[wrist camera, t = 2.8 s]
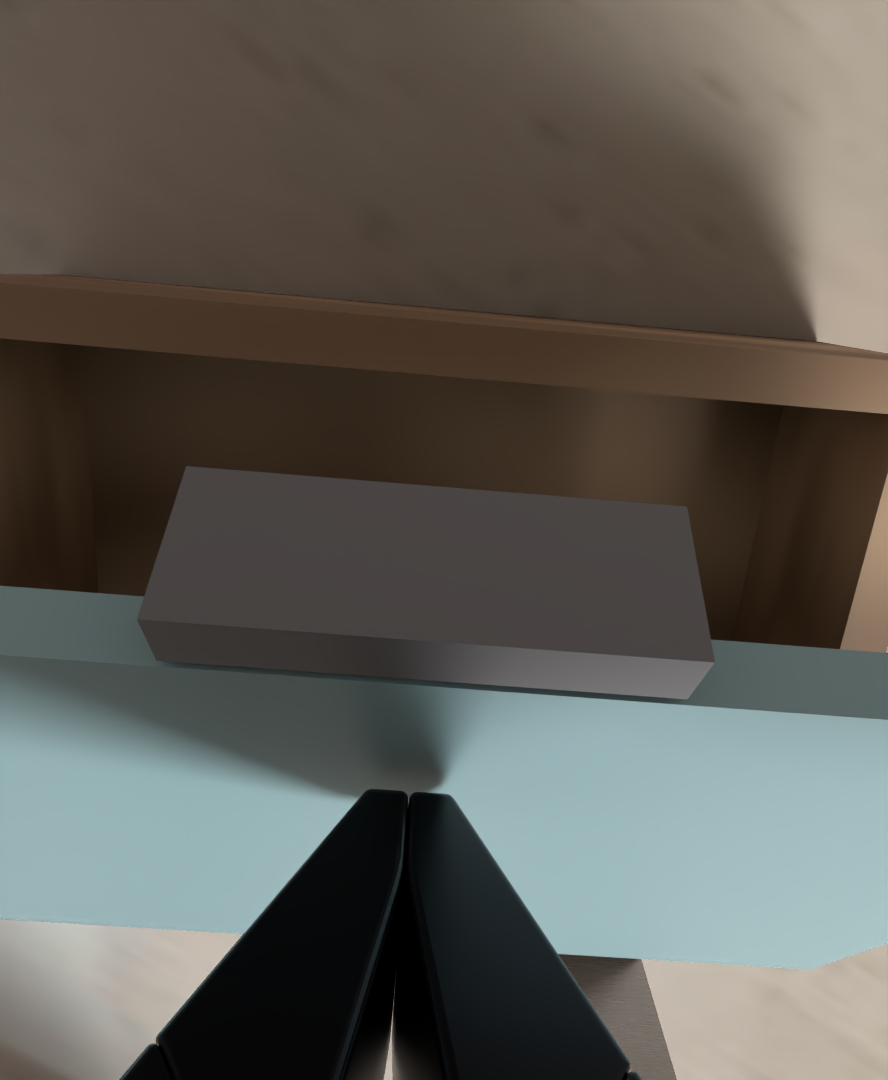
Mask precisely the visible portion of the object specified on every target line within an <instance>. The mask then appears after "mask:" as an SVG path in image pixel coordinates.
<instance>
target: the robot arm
mask: <svg viewBox="0 0 888 1080" xmlns="http://www.w3.org/2000/svg"><path fill="white" fill-rule="evenodd" d="M394 989H395V991H394ZM393 1001H394V1006H393ZM392 1012H393V1026H392V1072H393V1080H642V1078H641V1077H640V1075H639V1074H638V1073H637V1072H635V1071H632V1072H631V1067H632V1066H631V1063H630V1061H629V1059H628V1058H627V1056H626V1055H625V1053H624V1052H623V1050H622V1049H621V1047H620V1046H619V1044H618V1043H617V1041H616V1040H615V1039H614V1037H613V1036H612V1034H611V1033H610V1031H609V1030H608V1028H607V1027H606V1025H605V1024H604V1022H603V1021H602V1019H601V1018H600V1016H599V1015H598V1013H597V1012H596V1010H595V1009H594V1007H593V1006H592V1004H591V1003H590V1001H589V1000H588V998H587V997H586V995H585V994H584V992H583V991H582V989H581V988H580V986H579V985H578V983H577V982H576V980H575V979H574V977H573V976H572V974H571V973H570V971H569V970H568V968H567V967H566V965H565V964H564V962H563V961H562V959H561V958H560V956H559V955H558V953H557V952H556V950H555V949H554V947H553V946H552V944H551V943H550V941H549V940H548V938H547V937H546V935H545V934H544V932H543V931H542V929H541V928H540V926H539V925H538V923H537V922H536V920H535V919H534V917H533V916H532V914H531V913H530V911H529V910H528V908H527V907H526V906H525V904H524V903H523V901H522V900H521V898H520V897H519V895H518V894H517V892H516V891H515V889H514V888H513V886H512V885H511V883H510V882H509V880H508V879H507V877H506V876H505V874H504V873H503V871H502V870H501V868H500V867H499V865H498V864H497V862H496V861H495V859H494V858H493V856H492V855H491V853H490V852H489V850H488V849H487V847H486V846H485V844H484V843H483V841H482V840H481V838H480V837H479V835H478V834H477V832H476V831H475V829H474V828H473V826H472V825H471V823H470V822H469V820H468V819H467V817H466V816H465V814H464V813H463V811H462V810H461V808H460V807H459V805H458V804H457V802H456V801H455V799H454V798H453V797H452V796H450V795H449V794H443V793H428V792H414V793H412V794H411V795H410V797H409V803H408V795H407V793H405V792H404V791H399V790H385V789H368V790H366V791H365V792H364V793H363V794H362V795H361V797H360V798H359V799H358V800H357V801H356V802H355V804H354V805H353V806H352V807H351V808H350V809H349V811H348V812H347V813H346V814H345V815H344V817H343V818H342V819H341V820H340V821H339V822H338V824H337V825H336V826H335V827H334V828H333V829H332V831H331V832H330V833H329V834H328V835H327V837H326V838H325V839H324V840H323V841H322V842H321V844H320V845H319V846H318V847H317V848H316V849H315V851H314V852H313V853H312V854H311V855H310V857H309V858H308V859H307V860H306V861H305V862H304V864H303V865H302V866H301V867H300V868H299V869H298V871H297V872H296V873H295V874H294V875H293V877H292V878H291V879H290V880H289V881H288V882H287V884H286V885H285V886H284V887H283V888H282V889H281V891H280V892H279V893H278V894H277V895H276V897H275V898H274V899H273V900H272V901H271V902H270V904H269V905H268V906H267V907H266V908H265V909H264V911H263V912H262V913H261V914H260V915H259V916H258V918H257V919H256V920H255V921H254V922H253V924H252V925H251V926H250V927H249V928H248V929H247V931H246V932H245V933H244V934H243V935H242V936H241V938H240V939H239V940H238V941H237V942H236V944H235V945H234V946H233V947H232V948H231V949H230V951H229V952H228V953H227V954H226V955H225V956H224V958H223V959H222V960H221V961H220V962H219V964H218V965H217V966H216V967H215V968H214V969H213V971H212V972H211V973H210V974H209V975H208V976H207V978H206V979H205V980H204V981H203V982H202V984H201V985H200V986H199V987H198V988H197V989H196V991H195V992H194V993H193V994H192V995H191V996H190V998H189V999H188V1000H187V1001H186V1002H185V1004H184V1005H183V1006H182V1007H181V1008H180V1009H179V1011H178V1012H177V1013H176V1014H175V1015H174V1016H173V1018H172V1019H171V1020H170V1021H169V1022H168V1023H167V1025H166V1026H165V1027H164V1028H163V1029H162V1031H161V1032H160V1033H159V1034H158V1035H157V1037H156V1044H150V1045H148V1046H147V1047H146V1049H145V1050H144V1051H143V1052H142V1053H141V1054H140V1056H139V1057H138V1058H137V1059H136V1060H135V1062H134V1063H133V1064H132V1065H131V1066H130V1068H129V1069H128V1070H127V1071H126V1072H125V1073H124V1075H123V1076H122V1077H121V1078H120V1079H119V1080H383V1079H384V1074H385V1068H386V1061H387V1055H388V1049H389V1042H390V1033H391V1023H392Z"/></svg>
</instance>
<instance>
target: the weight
mask: <svg viewBox="0 0 888 1080" xmlns="http://www.w3.org/2000/svg"><path fill="white" fill-rule="evenodd" d="M558 955H559V956H560V958H561V959H562V961H563V962H564V964H565V965H566V967H567V968H568V970H569V971H570V973H571V974H572V976H573V977H574V979H575V980H576V982H577V983H578V985H579V986H580V988H581V989H582V991H583V992H584V994H585V995H586V997H587V998H588V1000H589V1001H590V1003H591V1004H592V1006H593V1007H594V1009H595V1010H596V1012H597V1013H598V1015H599V1016H600V1018H601V1019H602V1021H603V1022H604V1024H605V1025H606V1027H607V1028H608V1030H609V1031H610V1033H611V1034H612V1036H613V1037H614V1039H615V1040H616V1041H617V1043H618V1044H619V1046H620V1047H621V1049H622V1050H623V1052H624V1053H625V1055H626V1056H627V1058H628V1059H629V1061H630V1063H631V1066H632V1067H631V1072H632V1071H635V1072H637V1073H638V1074H639V1075H640V1077H641V1078H642V1080H677V1079H676V1076H675V1072H674V1069H673V1066H672V1062H671V1059H670V1056H669V1052H668V1049H667V1045H666V1042H665V1039H664V1035H663V1032H662V1028H661V1025H660V1022H659V1018H658V1015H657V1011H656V1008H655V1005H654V1001H653V998H652V995H651V991H650V988H649V984H648V981H647V978H646V974H645V971H644V967H643V964H642V961H641V959H632V958H616V957H600V956H584V955H569V954H558Z"/></svg>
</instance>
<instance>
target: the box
mask: <svg viewBox="0 0 888 1080" xmlns="http://www.w3.org/2000/svg"><path fill="white" fill-rule="evenodd" d="M186 466H191V467H203V468H216V469H228V470H241V471H253V472H265V473H278V474H290V475H302V476H315V477H327V478H339V479H352V480H364V481H376V482H389V483H401V484H413V485H426V486H438V487H451V488H463V489H475V490H488V491H500V492H512V493H525V494H537V495H549V496H562V497H574V498H586V499H599V500H611V501H623V502H636V503H648V504H660V505H673V506H685V507H687V509H688V515H689V520H690V526H691V532H692V537H693V543H694V548H695V554H696V559H697V565H698V570H699V576H700V582H701V587H702V593H703V598H704V604H705V609H706V615H707V620H708V626H709V632H710V637H711V640H724V641H737V642H750V643H763V644H777V645H790V646H803V647H816V648H829V649H843V650H856V651H869V652H882V653H886V650H887V646H888V354H887V353H881V352H875V351H870V350H864V349H858V348H852V347H846V346H840V345H834V344H829V343H823V342H815V341H804V340H793V339H781V338H770V337H758V336H747V335H736V334H724V333H713V332H702V331H690V330H679V329H668V328H656V327H645V326H633V325H622V324H611V323H599V322H588V321H577V320H565V319H554V318H543V317H531V316H520V315H508V314H497V313H486V312H474V311H463V310H452V309H440V308H429V307H418V306H406V305H395V304H384V303H372V302H361V301H349V300H338V299H327V298H315V297H304V296H293V295H281V294H270V293H259V292H247V291H236V290H224V289H213V288H202V287H190V286H179V285H168V284H156V283H145V282H134V281H122V280H111V279H100V278H88V277H77V276H65V275H13V274H0V586H10V587H24V588H37V589H50V590H63V591H76V592H90V593H103V594H116V595H129V596H143V597H144V596H145V592H146V589H147V586H148V583H149V580H150V577H151V574H152V571H153V568H154V565H155V561H156V558H157V555H158V552H159V549H160V546H161V543H162V540H163V537H164V533H165V530H166V527H167V524H168V521H169V518H170V515H171V512H172V509H173V506H174V502H175V499H176V496H177V493H178V490H179V487H180V484H181V481H182V478H183V475H184V471H185V468H186Z"/></svg>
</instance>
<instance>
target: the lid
mask: <svg viewBox="0 0 888 1080" xmlns="http://www.w3.org/2000/svg"><path fill="white" fill-rule="evenodd" d="M368 789H385V790H399V791H404V792H405V793H407V795H408V803H409V797H410V795H411V794H412V793H414V792H428V793H443V794H449V795H450V796H452V797H453V798H454V799H455V801H456V802H457V804H458V805H459V807H460V808H461V810H462V811H463V813H464V814H465V816H466V817H467V819H468V820H469V822H470V823H471V825H472V826H473V828H474V829H475V831H476V832H477V834H478V835H479V837H480V838H481V840H482V841H483V843H484V844H485V846H486V847H487V849H488V850H489V852H490V853H491V855H492V856H493V858H494V859H495V861H496V862H497V864H498V865H499V867H500V868H501V870H502V871H503V873H504V874H505V876H506V877H507V879H508V880H509V882H510V883H511V885H512V886H513V888H514V889H515V891H516V892H517V894H518V895H519V897H520V898H521V900H522V901H523V903H524V904H525V906H526V907H527V908H528V910H529V911H530V913H531V914H532V916H533V917H534V919H535V920H536V922H537V923H538V925H539V926H540V928H541V929H542V931H543V932H544V934H545V935H546V937H547V938H548V940H549V941H550V943H551V944H552V946H553V947H554V949H555V950H556V952H557V953H558V954H569V955H584V956H600V957H616V958H632V959H648V960H664V961H680V962H696V963H712V964H728V965H744V966H760V967H776V968H792V969H808V970H811V969H814V968H817V967H820V966H823V965H825V964H828V963H831V962H834V961H837V960H840V959H843V958H846V957H849V956H852V955H855V954H858V953H861V952H864V951H867V950H870V949H873V948H876V947H879V946H881V945H884V944H887V943H888V653H882V652H869V651H856V650H843V649H829V648H816V647H803V646H790V645H777V644H763V643H750V642H737V641H724V640H711V637H710V632H709V626H708V620H707V615H706V609H705V604H704V598H703V593H702V587H701V582H700V576H699V570H698V565H697V559H696V554H695V548H694V543H693V537H692V532H691V526H690V520H689V515H688V509H687V507H685V506H673V505H660V504H648V503H636V502H623V501H611V500H599V499H586V498H574V497H562V496H549V495H537V494H525V493H512V492H500V491H488V490H475V489H463V488H451V487H438V486H426V485H413V484H401V483H389V482H376V481H364V480H352V479H339V478H327V477H315V476H302V475H290V474H278V473H265V472H253V471H241V470H228V469H216V468H203V467H191V466H186V468H185V471H184V475H183V478H182V481H181V484H180V487H179V490H178V493H177V496H176V499H175V502H174V506H173V509H172V512H171V515H170V518H169V521H168V524H167V527H166V530H165V533H164V537H163V540H162V543H161V546H160V549H159V552H158V555H157V558H156V561H155V565H154V568H153V571H152V574H151V577H150V580H149V583H148V586H147V589H146V592H145V596H144V597H143V596H129V595H116V594H103V593H90V592H76V591H63V590H50V589H37V588H24V587H10V586H0V919H10V920H26V921H42V922H58V923H74V924H90V925H106V926H122V927H138V928H154V929H170V930H186V931H202V932H218V933H234V934H244V933H245V932H246V931H247V929H248V928H249V927H250V926H251V925H252V924H253V922H254V921H255V920H256V919H257V918H258V916H259V915H260V914H261V913H262V912H263V911H264V909H265V908H266V907H267V906H268V905H269V904H270V902H271V901H272V900H273V899H274V898H275V897H276V895H277V894H278V893H279V892H280V891H281V889H282V888H283V887H284V886H285V885H286V884H287V882H288V881H289V880H290V879H291V878H292V877H293V875H294V874H295V873H296V872H297V871H298V869H299V868H300V867H301V866H302V865H303V864H304V862H305V861H306V860H307V859H308V858H309V857H310V855H311V854H312V853H313V852H314V851H315V849H316V848H317V847H318V846H319V845H320V844H321V842H322V841H323V840H324V839H325V838H326V837H327V835H328V834H329V833H330V832H331V831H332V829H333V828H334V827H335V826H336V825H337V824H338V822H339V821H340V820H341V819H342V818H343V817H344V815H345V814H346V813H347V812H348V811H349V809H350V808H351V807H352V806H353V805H354V804H355V802H356V801H357V800H358V799H359V798H360V797H361V795H362V794H363V793H364V792H365V791H366V790H368Z"/></svg>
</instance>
